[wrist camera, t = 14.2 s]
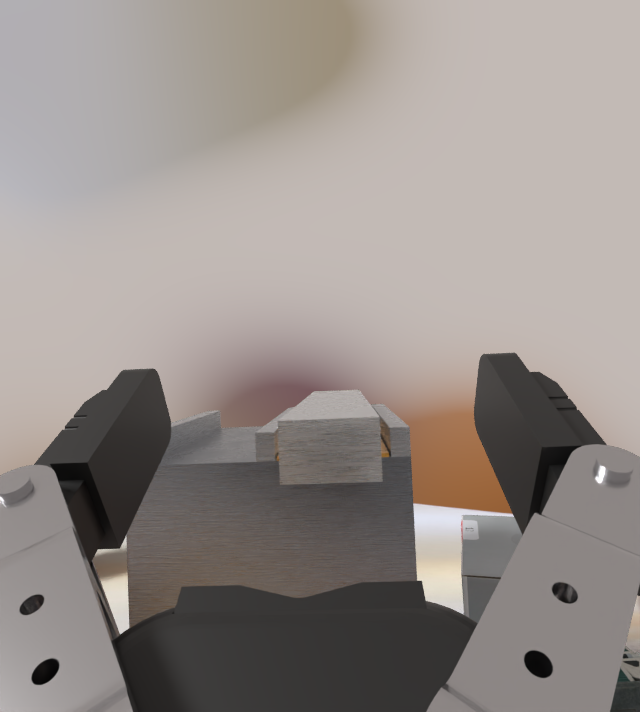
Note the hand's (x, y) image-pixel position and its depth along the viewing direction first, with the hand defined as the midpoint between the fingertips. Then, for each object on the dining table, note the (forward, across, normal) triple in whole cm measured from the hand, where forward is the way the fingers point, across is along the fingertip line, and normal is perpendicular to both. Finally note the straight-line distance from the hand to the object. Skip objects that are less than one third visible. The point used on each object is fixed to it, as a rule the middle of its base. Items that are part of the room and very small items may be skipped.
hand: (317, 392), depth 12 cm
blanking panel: (+14, 0, +13) cm, 19 cm away
